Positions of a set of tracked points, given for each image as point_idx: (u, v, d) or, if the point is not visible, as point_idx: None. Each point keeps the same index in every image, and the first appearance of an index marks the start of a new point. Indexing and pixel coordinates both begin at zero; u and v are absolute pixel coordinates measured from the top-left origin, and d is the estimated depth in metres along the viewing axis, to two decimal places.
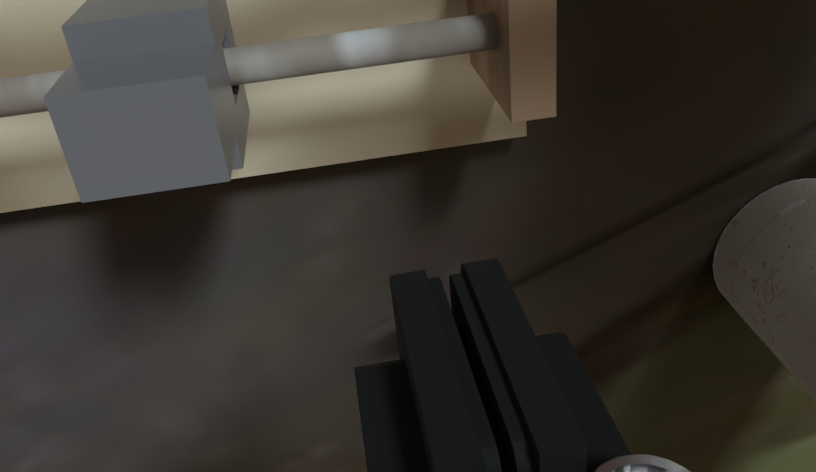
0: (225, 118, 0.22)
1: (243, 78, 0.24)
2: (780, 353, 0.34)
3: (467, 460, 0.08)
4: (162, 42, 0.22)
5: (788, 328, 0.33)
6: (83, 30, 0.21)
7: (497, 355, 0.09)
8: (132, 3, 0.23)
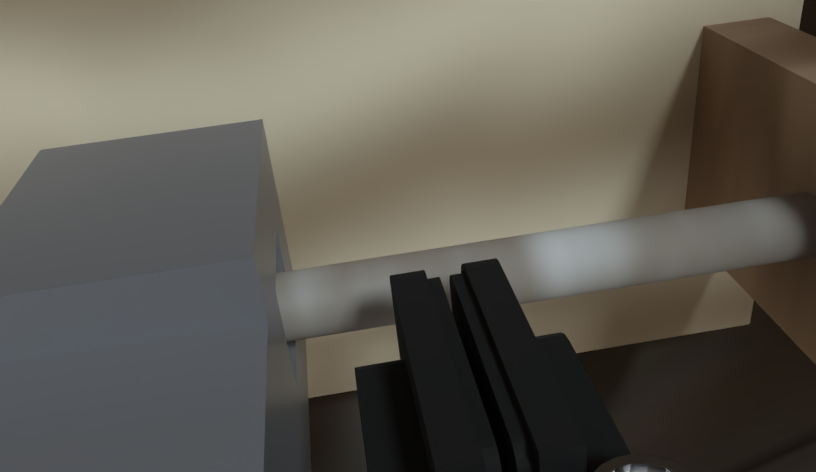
0: None
1: (356, 326, 0.13)
2: None
3: (467, 460, 0.08)
4: (156, 325, 0.10)
5: None
6: None
7: (497, 355, 0.09)
8: (95, 219, 0.11)
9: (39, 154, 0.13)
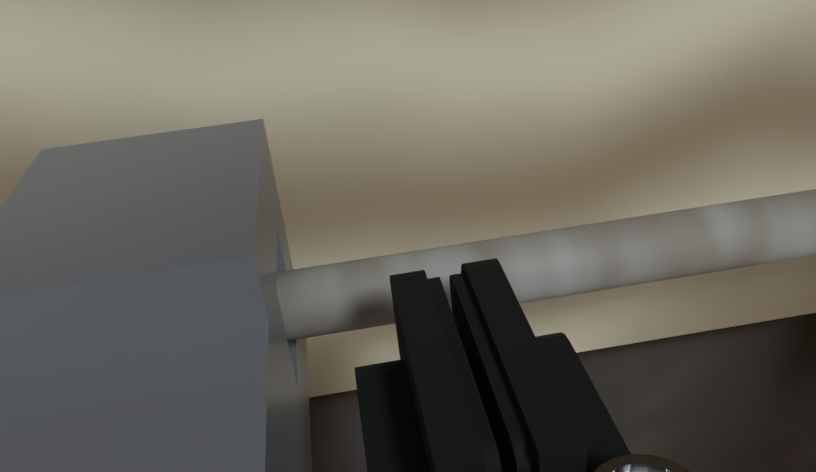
0: None
1: (765, 260, 0.13)
2: None
3: (467, 460, 0.08)
4: (157, 324, 0.10)
5: None
6: None
7: (497, 355, 0.09)
8: (96, 218, 0.11)
9: (40, 153, 0.13)
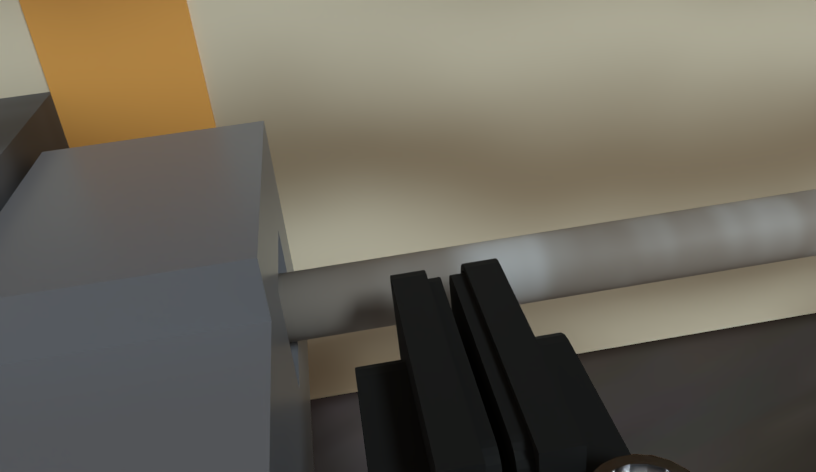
0: None
1: None
2: None
3: (467, 460, 0.08)
4: (160, 326, 0.10)
5: None
6: None
7: (497, 355, 0.09)
8: (98, 220, 0.11)
9: (41, 156, 0.13)
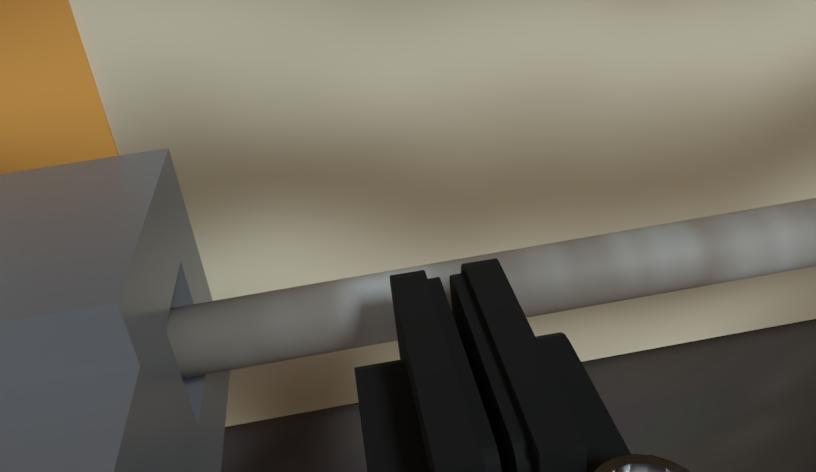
0: None
1: None
2: None
3: (467, 460, 0.08)
4: (22, 373, 0.10)
5: None
6: None
7: (497, 355, 0.09)
8: None
9: None
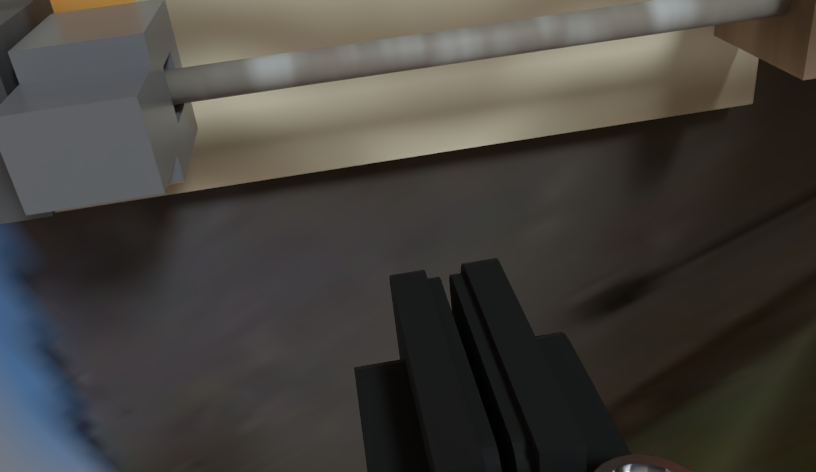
0: (162, 135, 0.23)
1: (567, 41, 0.27)
2: None
3: (467, 460, 0.08)
4: (103, 65, 0.23)
5: None
6: (28, 55, 0.23)
7: (497, 355, 0.09)
8: (77, 29, 0.24)
9: (50, 15, 0.27)
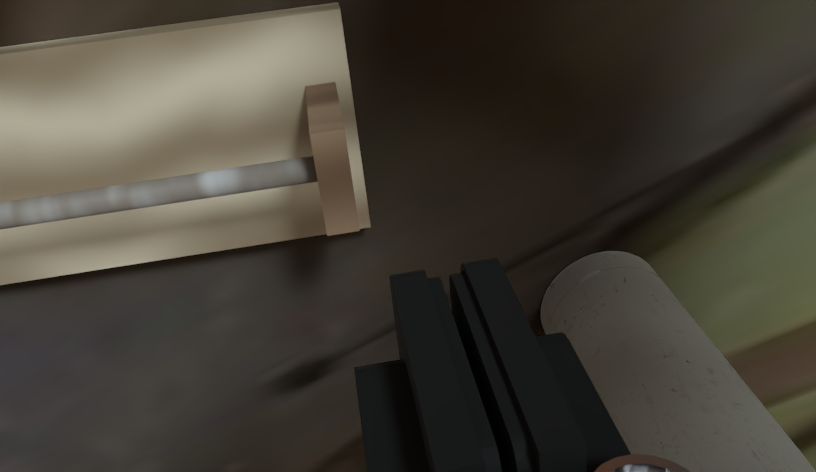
0: None
1: (133, 206, 0.34)
2: None
3: (467, 460, 0.08)
4: None
5: None
6: None
7: (497, 355, 0.09)
8: None
9: None
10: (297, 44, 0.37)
